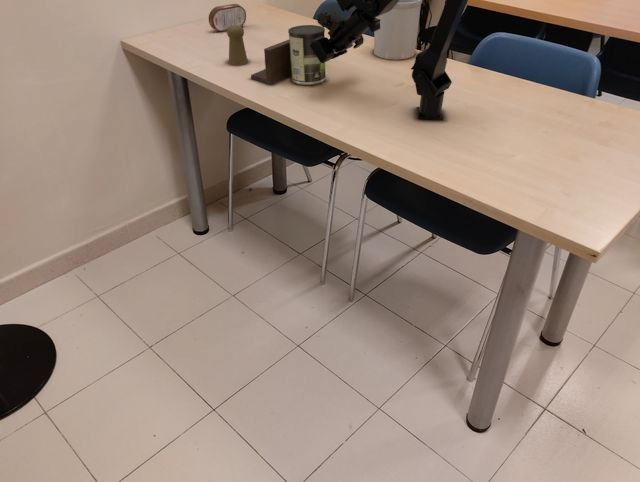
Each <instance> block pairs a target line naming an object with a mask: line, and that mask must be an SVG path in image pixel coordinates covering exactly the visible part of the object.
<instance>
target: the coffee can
mask: <svg viewBox="0 0 640 482" xmlns="http://www.w3.org/2000/svg"><path fill="white" fill-rule="evenodd" d="M287 32H288V40H289V42H290V57H291V72H292V76H291V81H292V83H295V84H297V85H304V86H306V85H307V86H308V85H317V84H320V83H323V82H324V81H326V79H327V77H326V62H325V63H321V62H320V61H319V59H318V58H317V56H316V55H315V53H314V52H313V50H312V49H311V47H310V42H311V41H312V40H313V39H315V38H318V37H320V36H323V37H325V32H326V27H322V26H321V25H315V24H302V25H297V26H293V27H290V28H288V30H287ZM325 38H326V37H325Z"/></svg>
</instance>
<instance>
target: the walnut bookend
mask: <svg viewBox="0 0 640 482" xmlns="http://www.w3.org/2000/svg"><path fill="white" fill-rule="evenodd" d="M263 51H264V52H263V53H264V69H262V70H260V71H256V72H255V73H252V74H250V79H251V80H253V81H257V82H260V83H262V84H266V85H270V86H273V85H274V84H278V83H279V82H281V81H284V80H287V79H288V78H290V77H292V72H291V57H290V42H289V39H286V40H283V41H281V42H279V43H276V44H273V45H271V46H268V47H265V48H264V49H263Z"/></svg>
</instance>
